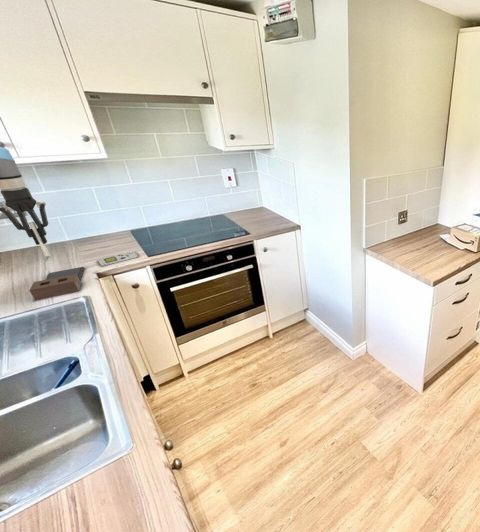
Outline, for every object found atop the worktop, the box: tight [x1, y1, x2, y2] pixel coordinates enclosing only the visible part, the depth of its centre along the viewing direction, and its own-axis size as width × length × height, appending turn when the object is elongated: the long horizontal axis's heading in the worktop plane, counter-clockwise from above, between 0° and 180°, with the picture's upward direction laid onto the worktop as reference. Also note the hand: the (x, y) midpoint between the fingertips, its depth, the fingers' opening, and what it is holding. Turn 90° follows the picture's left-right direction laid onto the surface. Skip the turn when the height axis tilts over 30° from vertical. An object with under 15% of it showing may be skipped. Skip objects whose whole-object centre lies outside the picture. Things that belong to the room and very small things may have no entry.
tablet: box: [45, 266, 85, 281], centre depth 147 cm, size 12×16×1 cm
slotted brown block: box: [28, 274, 82, 301], centre depth 136 cm, size 8×13×5 cm, turn 126°
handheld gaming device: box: [97, 251, 139, 267], centre depth 166 cm, size 9×1×15 cm
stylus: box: [28, 221, 51, 259], centre depth 137 cm, size 2×2×16 cm
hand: (41, 243), depth 138 cm, fingers closed on stylus, 1 cm apart
